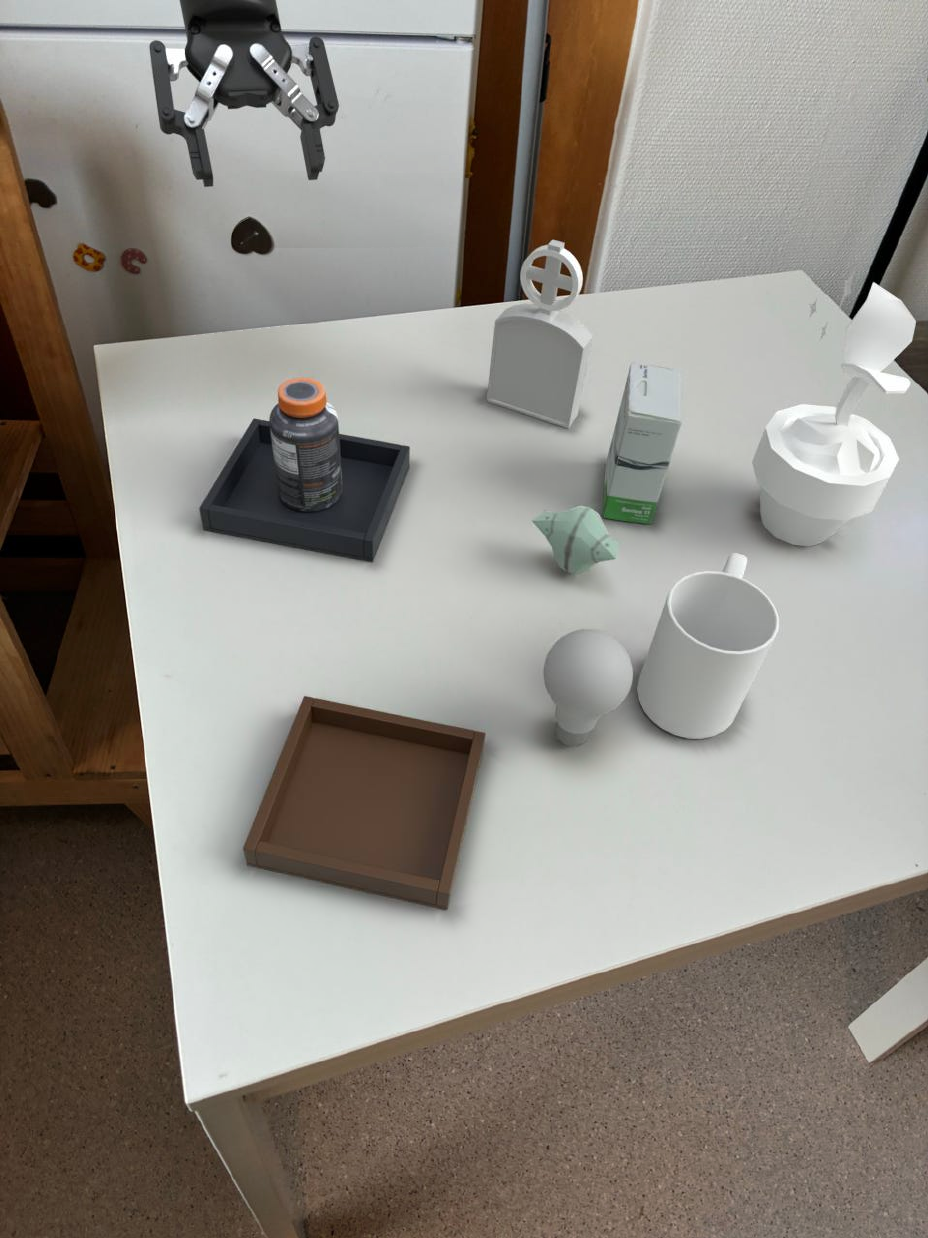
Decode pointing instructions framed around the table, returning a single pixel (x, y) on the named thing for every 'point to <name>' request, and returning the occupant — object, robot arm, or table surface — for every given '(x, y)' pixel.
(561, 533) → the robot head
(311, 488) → the pill bottle
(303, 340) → the table surface
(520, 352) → the gravestone
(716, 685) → the mug
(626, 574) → the table surface
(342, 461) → the far tray
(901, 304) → the potted plant
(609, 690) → the lightbulb
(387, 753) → the near tray
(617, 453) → the ink box
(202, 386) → the table surface
